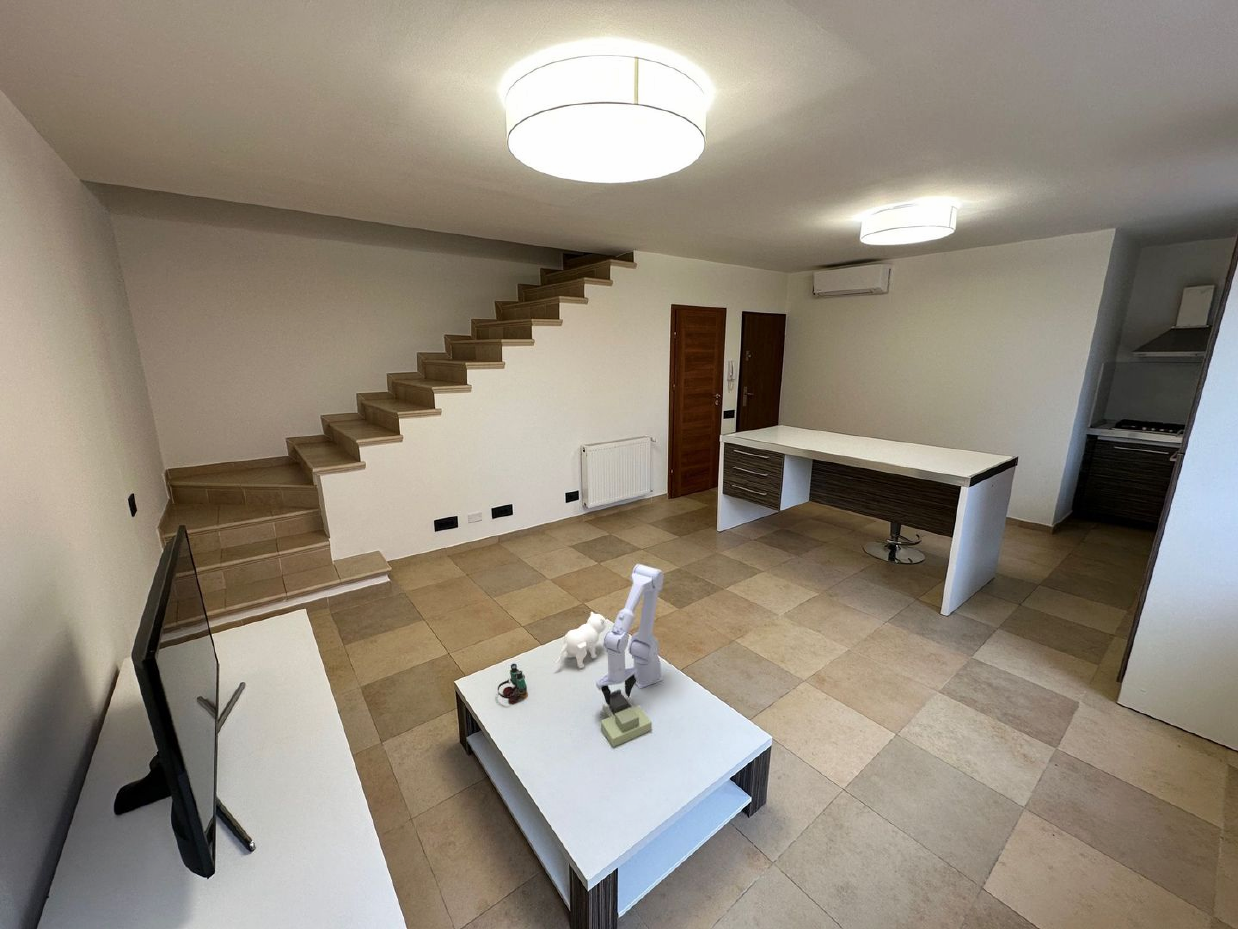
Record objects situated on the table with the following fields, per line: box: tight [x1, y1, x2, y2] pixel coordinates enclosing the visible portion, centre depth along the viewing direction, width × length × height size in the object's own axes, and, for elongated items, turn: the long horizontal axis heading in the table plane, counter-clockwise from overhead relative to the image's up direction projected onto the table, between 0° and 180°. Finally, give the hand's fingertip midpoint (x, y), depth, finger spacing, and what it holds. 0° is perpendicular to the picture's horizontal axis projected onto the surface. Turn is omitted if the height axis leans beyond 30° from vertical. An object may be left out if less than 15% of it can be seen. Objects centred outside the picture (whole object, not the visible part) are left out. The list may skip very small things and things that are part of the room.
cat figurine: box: [555, 611, 610, 669], centre depth 190 cm, size 25×10×17 cm, turn 129°
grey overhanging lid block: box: [608, 688, 629, 715], centre depth 165 cm, size 4×6×5 cm
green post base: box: [600, 694, 653, 748], centre depth 160 cm, size 14×16×6 cm
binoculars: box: [497, 663, 529, 704], centre depth 172 cm, size 9×11×10 cm
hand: (617, 699), depth 166 cm, fingers open, 7 cm apart
